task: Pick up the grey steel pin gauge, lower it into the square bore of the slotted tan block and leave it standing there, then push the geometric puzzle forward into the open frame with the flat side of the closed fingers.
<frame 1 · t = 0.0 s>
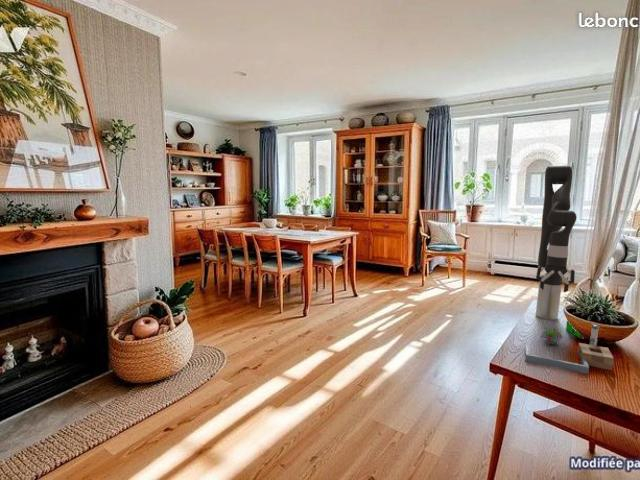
hand: (553, 290, 161), 17 cm above the table, tool pointing down, fingers open, 8 cm apart
geometric puzzle: (550, 344, 147), on the table
pin gauge: (592, 350, 141), on the table
open frame: (553, 358, 136), on the table
puzzle cube: (584, 334, 156), on the table
slotted tan block: (593, 361, 133), on the table
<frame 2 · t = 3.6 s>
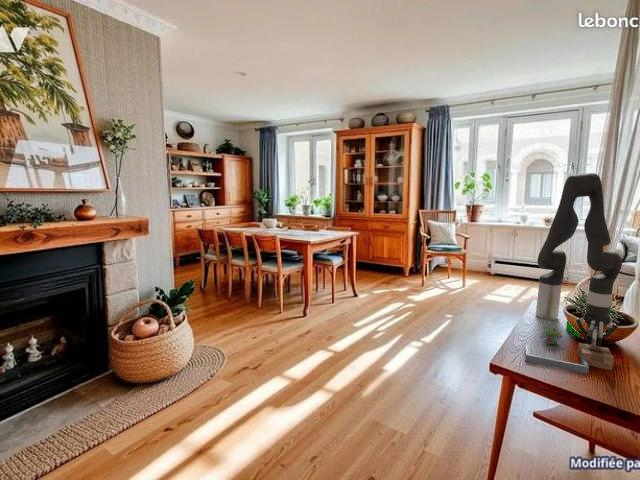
hand: (592, 344, 141), 3 cm above the table, tool pointing down, fingers closed on pin gauge, 2 cm apart
pin gauge: (592, 350, 141), on the table, touching gripper
everything else where it was.
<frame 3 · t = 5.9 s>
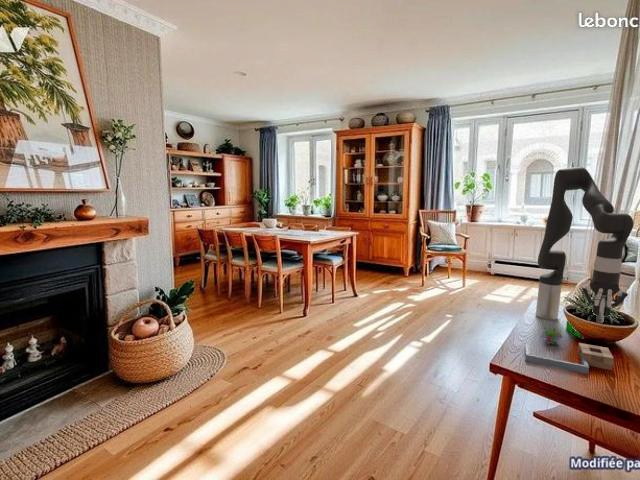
hand: (600, 315, 130), 18 cm above the table, tool pointing down, fingers closed on pin gauge
pin gauge: (599, 322, 130), point 16 cm above the table, touching gripper
everything else where it was.
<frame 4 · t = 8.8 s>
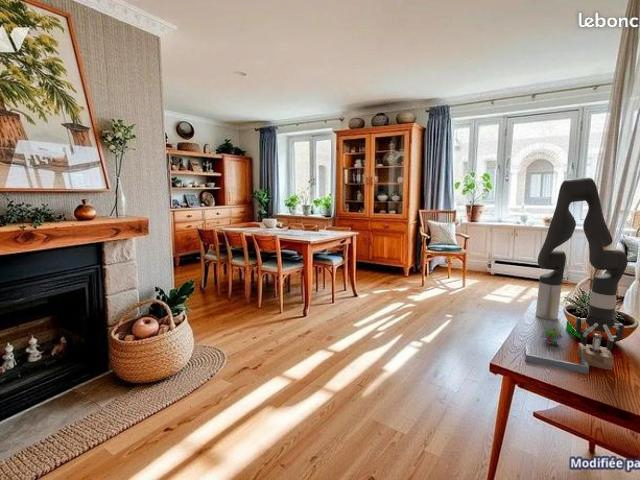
hand: (595, 347, 132), 6 cm above the table, tool pointing down, fingers open, 6 cm apart
pin gauge: (594, 361, 133), resting in slotted tan block
everything else where it was.
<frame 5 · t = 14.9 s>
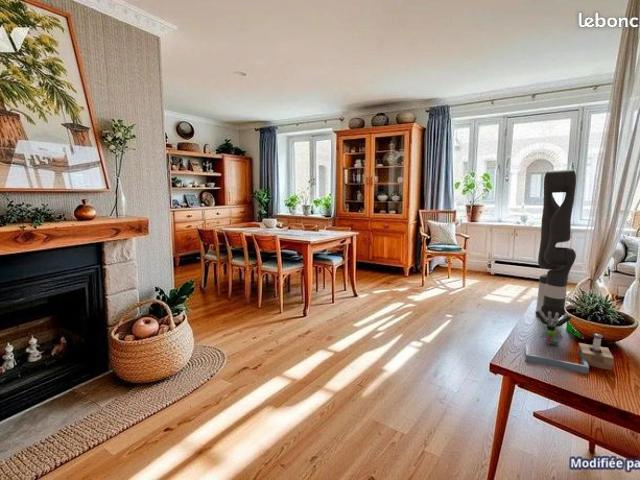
hand: (550, 334, 150), 3 cm above the table, tool pointing down, fingers closed
geometric puzzle: (550, 344, 147), on the table, touching gripper
everything else where it was.
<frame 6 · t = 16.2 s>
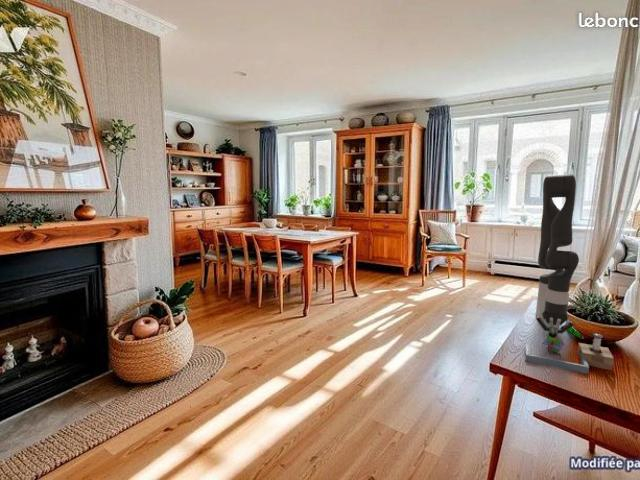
hand: (551, 341, 144), 3 cm above the table, tool pointing down, fingers closed
geometric puzzle: (551, 351, 141), on the table, touching gripper
everything else where it was.
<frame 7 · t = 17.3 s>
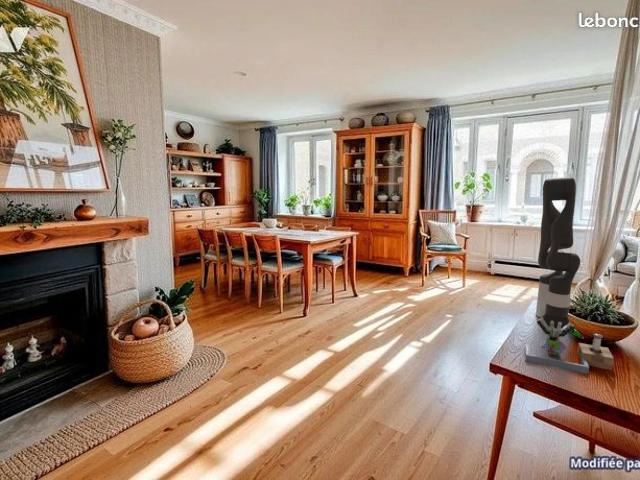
hand: (552, 344, 141), 2 cm above the table, tool pointing down, fingers closed
geometric puzzle: (552, 355, 138), on the table, touching gripper
everything else where it was.
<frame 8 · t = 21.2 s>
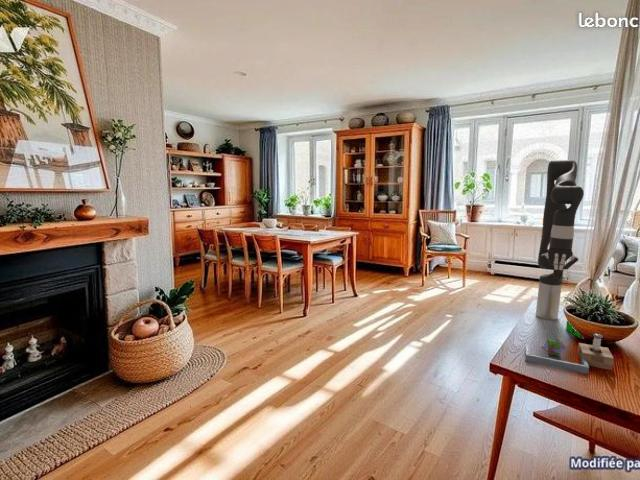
hand: (556, 278, 146), 27 cm above the table, tool pointing down, fingers closed
geometric puzzle: (552, 355, 138), on the table
everything else where it was.
at the end: geometric puzzle inside the target area on the open frame (3.0 cm from its centre), point 0.0 cm above the open frame's base; pin gauge 0.1 cm off-centre on the slotted tan block, point 0.0 cm above the slotted tan block's base; pin gauge tilted 0° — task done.
